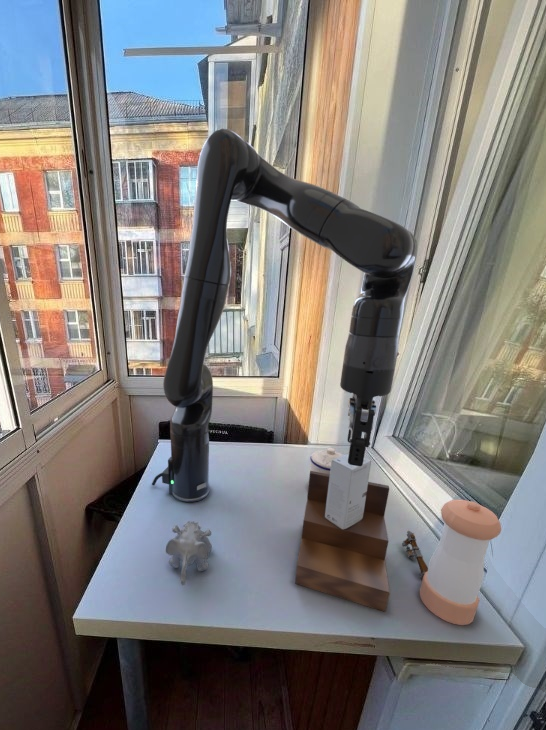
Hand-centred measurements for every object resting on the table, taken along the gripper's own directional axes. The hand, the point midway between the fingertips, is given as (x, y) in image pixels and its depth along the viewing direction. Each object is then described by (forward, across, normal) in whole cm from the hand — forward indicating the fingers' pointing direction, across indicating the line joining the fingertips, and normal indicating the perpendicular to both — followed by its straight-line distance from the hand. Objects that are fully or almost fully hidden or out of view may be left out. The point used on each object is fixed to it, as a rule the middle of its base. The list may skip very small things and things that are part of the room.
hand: (354, 453), depth 58 cm
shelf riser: (+22, +3, 0) cm, 22 cm away
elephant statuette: (+22, +14, -25) cm, 36 cm away
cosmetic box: (+14, 0, 0) cm, 14 cm away
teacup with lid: (+22, -22, -2) cm, 31 cm away
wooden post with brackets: (+22, -3, +13) cm, 25 cm away
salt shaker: (+22, +5, +16) cm, 28 cm away
